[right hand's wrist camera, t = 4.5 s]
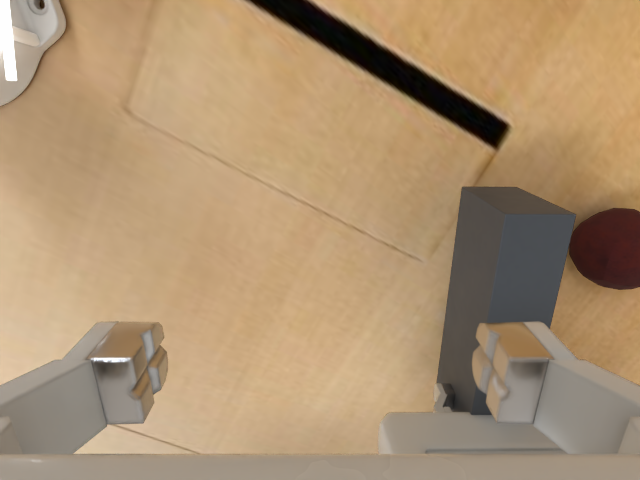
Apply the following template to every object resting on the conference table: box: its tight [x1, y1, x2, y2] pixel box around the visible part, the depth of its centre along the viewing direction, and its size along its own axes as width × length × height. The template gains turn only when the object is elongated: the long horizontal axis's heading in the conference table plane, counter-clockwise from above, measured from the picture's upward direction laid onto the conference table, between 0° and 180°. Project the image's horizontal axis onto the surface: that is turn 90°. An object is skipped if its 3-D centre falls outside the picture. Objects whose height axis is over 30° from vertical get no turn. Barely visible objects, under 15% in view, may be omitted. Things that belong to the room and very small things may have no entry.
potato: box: [569, 208, 640, 290], centre depth 37 cm, size 7×8×7 cm
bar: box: [437, 187, 576, 415], centre depth 36 cm, size 23×5×9 cm, turn 179°
